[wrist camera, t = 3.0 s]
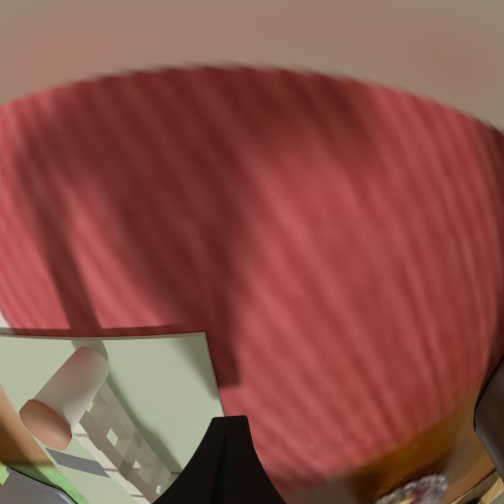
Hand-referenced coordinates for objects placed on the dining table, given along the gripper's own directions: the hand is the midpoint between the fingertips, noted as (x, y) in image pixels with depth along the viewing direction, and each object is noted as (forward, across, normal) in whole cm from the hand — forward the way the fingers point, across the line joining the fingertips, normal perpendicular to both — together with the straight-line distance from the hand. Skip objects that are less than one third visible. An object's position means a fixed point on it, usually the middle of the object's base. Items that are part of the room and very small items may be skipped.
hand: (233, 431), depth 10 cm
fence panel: (+1, +5, 0) cm, 5 cm away
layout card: (+2, +8, +6) cm, 10 cm away
